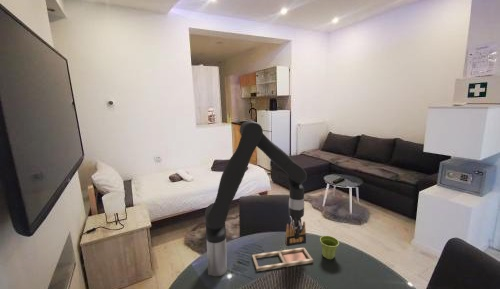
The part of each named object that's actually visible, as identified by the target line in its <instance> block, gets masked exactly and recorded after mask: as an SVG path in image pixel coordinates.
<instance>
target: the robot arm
mask: <svg viewBox="0 0 500 289" xmlns="http://www.w3.org/2000/svg"><path fill="white" fill-rule="evenodd" d="M239 134H240V136H241V137H240V139H239V142H238V145H237V147H236V149H235V151H234V153H233V154H232V156H230V158H229V159H228V161H227V163H226V165H225V168H224V169H223V171H222V173H221V177H220V180H219V183H218V188H217V194H216V198H215V200H214V202H212V203H210V204H209V205H207V207H206V209H205V212H204V214H205V216H204V218H205V237H206V257H207V260H206V261H207V276H212V277H220V276H223V275H224V274H225V273H226V272H228V271H227V270H228V260H227V256H228V255H227V254H228V253H227V252H228V251H227V229H226V221H227V218H228V214H229V211H230V209H231V205H232V204H233V200H234V199H235V196H236V194H237V192H238V190H239V188H240V185H241V183H242V182H243V179H244V176H245V174H246V172H247V169H248V167H249V164H250V161H251V158H252V156H253V154H254V152H255V150H256V148H258V149H259V150H260V151H262V152H263V153H264V155H265V156H266V157H267V158H268V159H269V160H271V161H272V163H274V164H275V165H276V166H277V167H278V168H279V169H280V170H282V171H283V172H285V173H286V174H287V180H288V187H289V198H288V216H289V223H290V224H292V230H293V227H294V238H295V239H299V233H302V230H303V228H304V226H303V224H302V225H301V223H302V218H303V217H304V215H305V188H304V185H303V183H304V182H306V181H307V178H308V175H307V174H308V173H307V172H306V170H305V169H304V168H302V166H300V165H299V164H297V163H296V162H295V161H294V160H293V159H292V158H291V157H290V155H288V154H287V153H286V152H285V151H284V150H283V149H281V148H280V147H279V146H278V145H276V144H275V143H274V142H273V141H271V139H269V138H268V137H267V136H266V135H265V134H264V133H263V127H262V126H261V124H260V123H259V122H256V121H254V120H246V121H244V122H242V123H241V125H240V127H239ZM290 224H289V225H290ZM296 229H297V230H296Z"/></svg>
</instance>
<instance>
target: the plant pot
mask: <svg viewBox="0 0 500 289" xmlns="http://www.w3.org/2000/svg"><path fill="white" fill-rule="evenodd" d="M319 242H320V244H321V254H322V257H323V258H325V259H327V260H333V259H334V258H335V256H336V251H337V248H338V246H339V245H340V242H339V240H338V239H337V238H336V237H335V236H331V235H323V236H320V238H319Z"/></svg>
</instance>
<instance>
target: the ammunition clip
mask: <svg viewBox="0 0 500 289" xmlns="http://www.w3.org/2000/svg"><path fill="white" fill-rule="evenodd" d="M301 225H303V226H304V228H303V230H302V233H299V239H295V238H294V227H293V229H292V224H289V223H288V222H287V224H286V229H285V242H284V245H285V246H286V247H289V246H295V245H296V246H297V245H298V246H299V245H304V244H307V234H306V222H305V221H303V222H301ZM296 230H297V229H296Z"/></svg>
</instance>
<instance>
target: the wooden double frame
mask: <svg viewBox="0 0 500 289" xmlns="http://www.w3.org/2000/svg"><path fill="white" fill-rule="evenodd" d="M251 256H252V257H251V258H252V261H253V264H254V267H255V270H256V272H260V271H261V272H262V271H267V270H274V269H281V268H285V267H286V268H288V267H292V266H299V265H307V264H312V263H314V258H312V256H311V254H309V252H308V251H307V249H306V248H305V247H298V248H291V249H284V250H276V251H269V252H262V253H255V254H252V255H251ZM273 256H278V257H279V259H280V261H281V262H280V263H274V264H266V265H260V266H259V264H258V260H257V259H262V258H267V257H273Z"/></svg>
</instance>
